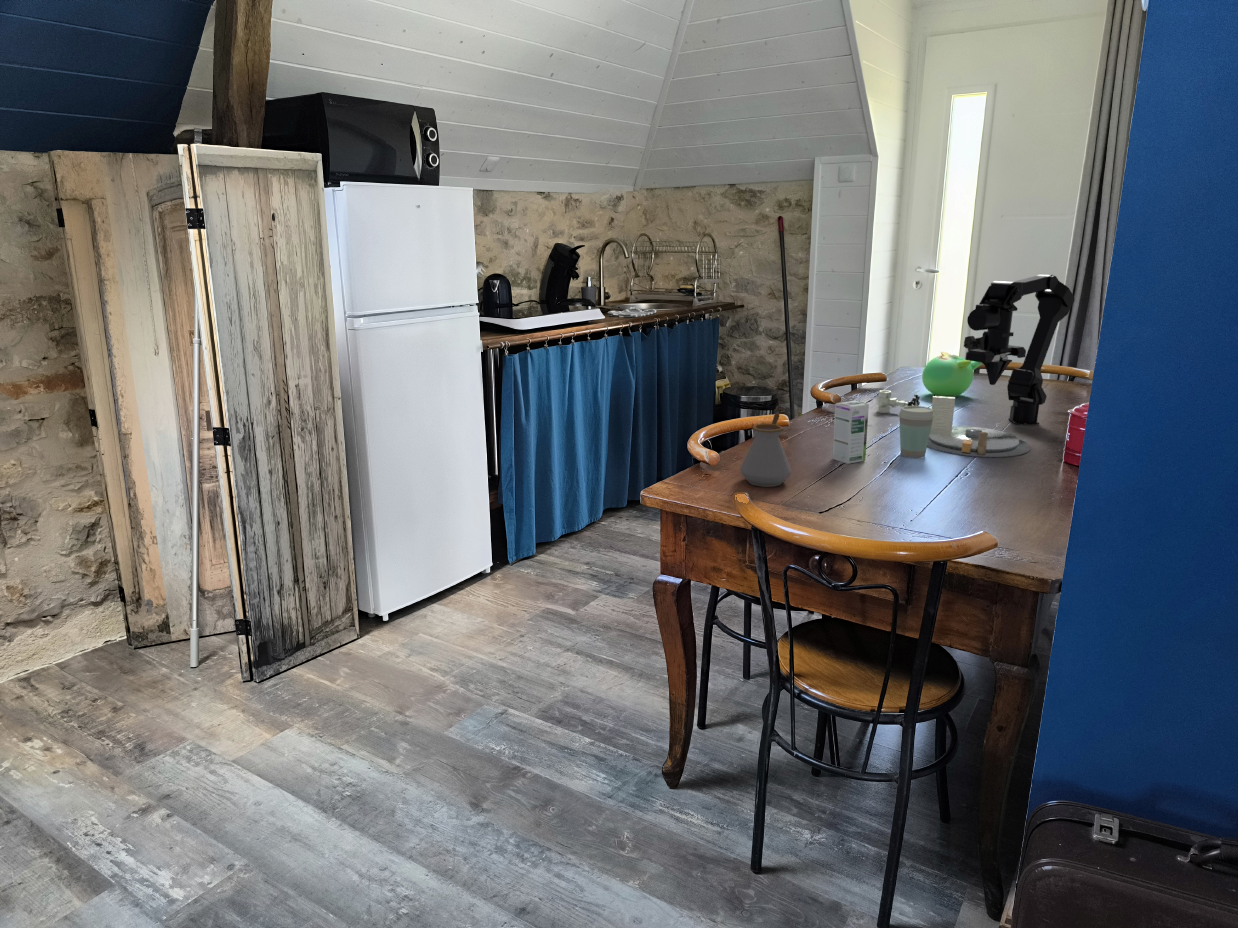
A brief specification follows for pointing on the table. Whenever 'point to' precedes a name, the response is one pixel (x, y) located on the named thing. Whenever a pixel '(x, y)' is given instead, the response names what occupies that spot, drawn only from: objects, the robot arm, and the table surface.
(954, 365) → the toy bird
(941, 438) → the grey stand
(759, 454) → the coffee pot
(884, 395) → the valve
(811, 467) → the table surface
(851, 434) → the syrup box
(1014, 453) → the grey round disc
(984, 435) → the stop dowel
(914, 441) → the coffee cup
